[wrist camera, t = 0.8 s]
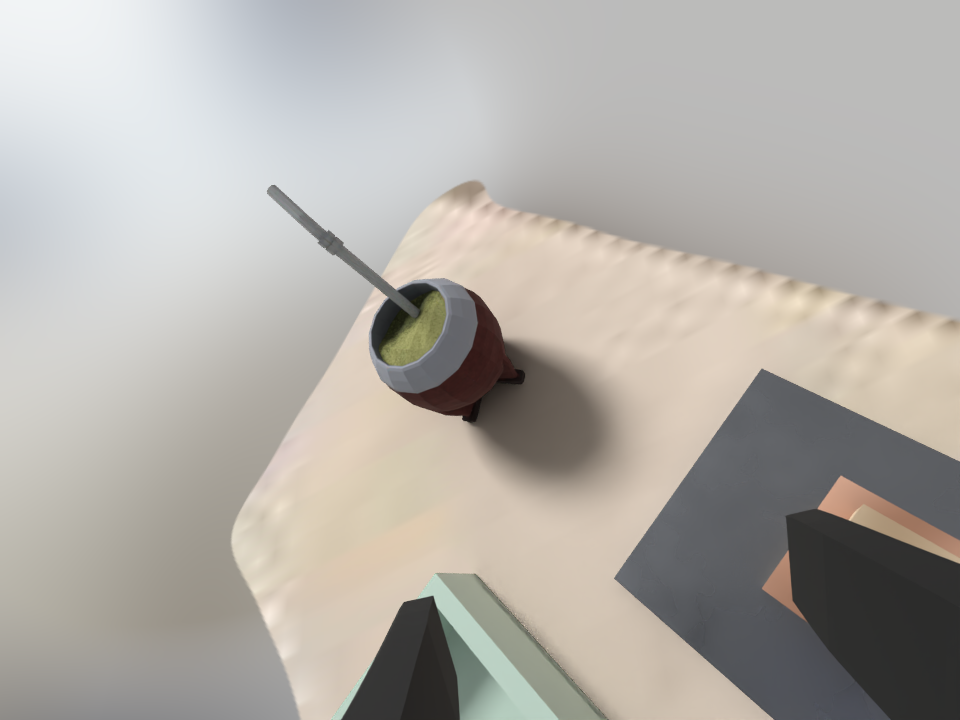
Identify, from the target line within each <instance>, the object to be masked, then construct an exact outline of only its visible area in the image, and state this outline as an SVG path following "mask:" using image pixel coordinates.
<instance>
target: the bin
mask: <svg viewBox="0 0 960 720" xmlns="http://www.w3.org/2000/svg"><path fill="white" fill-rule="evenodd" d="M429 596H434V599H435V603H436V606H437V610H438V613H439V616H440V620H441V623H442V626H443V630H444V633H445V637H446V640H447V643H448V647H449V650H450V654H451V657H452V660H453V664H454V667H455V671H456V674H457V681H458V696H459V712H460V720H608V719H607V718H606V717H605V716H604V715H603V714H602V713H601V712H600V710H599V709H598V708H597V707H596V706H595V705H594V704H593V703H592V702H591V701H590V699H589V698H588V697H587V696H586V695H585V694H584V693H583V692H582V691H581V690H580V688H579V687H578V686H577V685H576V684H575V683H574V682H573V681H572V680H571V679H570V677H569V676H568V675H567V674H566V673H565V672H564V671H563V670H562V669H561V668H560V666H559V665H558V664H557V663H556V662H555V661H554V660H553V659H552V658H551V657H550V655H549V654H548V653H547V652H546V651H545V650H544V649H543V648H542V647H541V646H540V644H539V643H538V642H537V641H536V640H535V639H534V638H533V637H532V636H531V635H530V633H529V632H528V631H527V630H526V629H525V628H524V627H523V626H522V625H521V624H520V622H519V621H518V620H517V619H516V618H515V617H514V616H513V615H512V614H511V613H510V611H509V610H508V609H507V608H506V607H505V606H504V605H503V604H502V603H501V602H500V600H499V599H498V598H497V597H496V596H495V595H494V594H493V593H492V592H491V591H490V589H489V588H488V587H487V586H486V585H485V584H484V583H483V582H482V581H481V580H480V578H479V577H478V576H477V575H476V574H456V573H435V574H434V576H433V577H432V579H431V580H430V581H429V583H428V584H427V586H426V587H425V588H424V590H423V591H422V593H421V594H420V595H419V597H418V598H417V599H420V598H424V597H429ZM373 661H374V660H373ZM373 661H372V663H373ZM372 663H371V664H370V666H369V667H368V668H367V670H366V671H365V673H364V674H363V675H362V677H361V678H360V680H359V681H358V682H357V684H356V685H355V687H354V688H353V689H352V691H351V692H350V694H349V695H348V696H347V698H346V699H345V701H344V702H343V703H342V705H341V706H340V708H339V709H338V710H337V712H336V713H335V715H334V716H333V717H332V719H331V720H341V719H342V717H343V715H344V714H345V712H346V710H347V709H348V707H349V705H350V703H351V701H352V700H353V698H354V696H355V694H356V692H357V691H358V689H359V687H360V685H361V683H362V681H363V680H364V678H365V676H366V674H367V672H368V670H369V668H370V667H371V665H372Z"/></svg>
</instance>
